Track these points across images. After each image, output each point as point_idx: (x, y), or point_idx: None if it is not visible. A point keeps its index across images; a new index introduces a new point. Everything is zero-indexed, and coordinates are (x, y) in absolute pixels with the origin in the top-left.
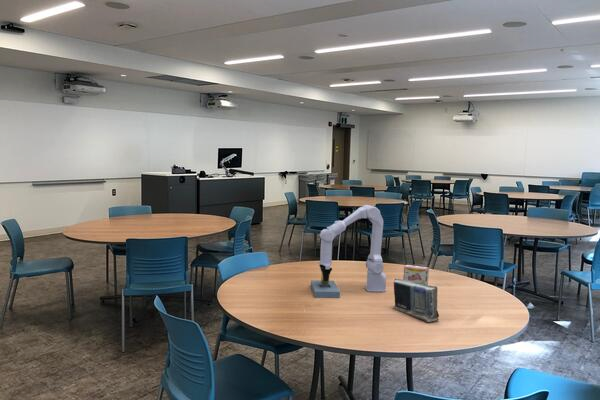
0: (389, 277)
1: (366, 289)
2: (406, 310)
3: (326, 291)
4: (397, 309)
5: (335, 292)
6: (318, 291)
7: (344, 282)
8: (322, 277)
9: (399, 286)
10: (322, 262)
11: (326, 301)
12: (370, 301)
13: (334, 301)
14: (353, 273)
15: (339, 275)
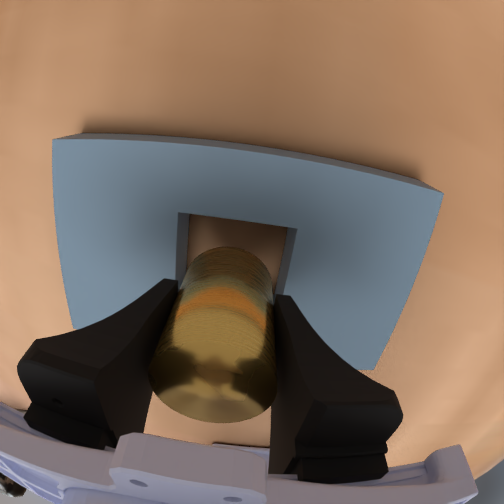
0: None
1: (237, 447)
2: None
3: (61, 237)
4: (18, 410)
5: (70, 297)
6: (56, 168)
7: (403, 399)
8: (187, 293)
9: None
10: (73, 497)
11: (21, 201)
12: None
13: (28, 250)
14: (481, 425)
15: (497, 385)
